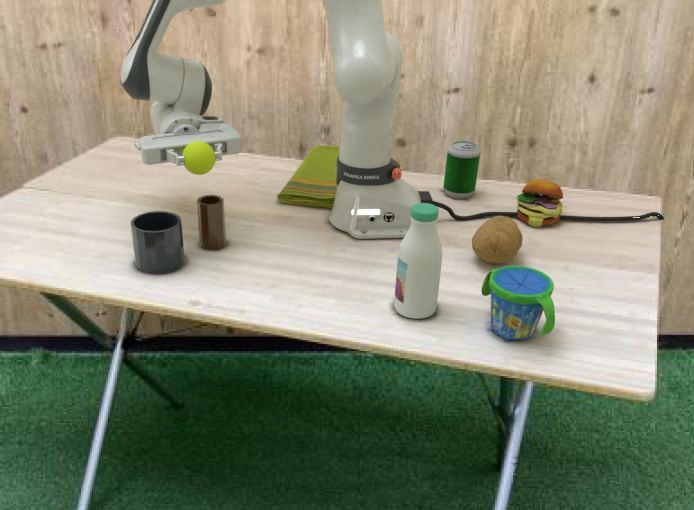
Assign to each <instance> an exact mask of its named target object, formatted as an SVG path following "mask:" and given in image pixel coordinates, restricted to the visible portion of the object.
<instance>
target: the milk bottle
mask: <svg viewBox="0 0 694 510" xmlns="http://www.w3.org/2000/svg"><path fill="white" fill-rule="evenodd" d="M439 211H440V210H439V207H436V206H435V205H433V204H429V203H418V204H415V205H413V206H412V208H411V218H410V219H411V221H412V222H411V225H410V228H409V230H408V232H407V234H406V235H405V237H404V238H402V241H401V243H400V244H399V245H400V246H399V249H398V254H397V263H396V264H397V265H396V274H395V275H396V276H395V277H396V278H395V287H394V297H393V298H394V299H393V307H394V309H395V311H396V312H397V314H399V315H401V316H403V317H404V318H409V319H416V320H417V319H418V320H419V319H425V318H429V317H431V316H433V315H434V313H436V310H437V306H438V298H439V290H440V282H441V273H442V265H443V264H442V263H443V246H442V242H441V239H440V236H439V234H438V229H437V222H438V218H439V213H440V212H439Z"/></svg>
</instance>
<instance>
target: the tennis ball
mask: <svg viewBox="0 0 694 510" xmlns="http://www.w3.org/2000/svg"><path fill="white" fill-rule="evenodd" d="M183 156H184V163H185V165H183V166H184V168H185V169H186V170H187V171H188V172H189V173H191V174H193V175H196V176H202V175H205V174H208V173H209V172H211V171H212V169H213V168H214V166H215V164H216V161H215V153H214V150H213V149H212V147H211V146H210V145H208V144H207V143H205V142H202V141H194V142H192V143H190V144H188V145H187V146H186V147H185V149H184V151H183Z"/></svg>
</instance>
